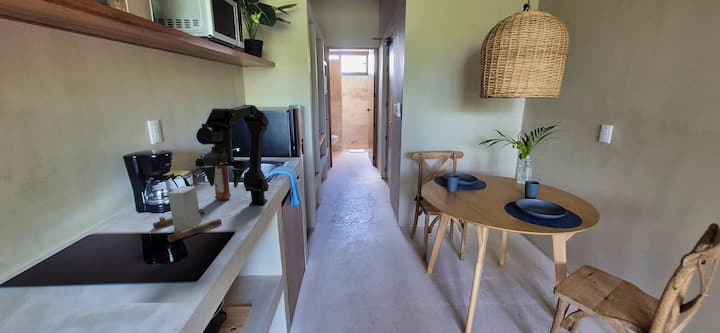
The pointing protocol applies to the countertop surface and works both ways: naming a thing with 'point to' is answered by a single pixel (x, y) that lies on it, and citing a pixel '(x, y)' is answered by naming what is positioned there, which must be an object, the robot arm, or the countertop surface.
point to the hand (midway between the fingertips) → (223, 186)
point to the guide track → (187, 232)
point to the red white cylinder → (221, 183)
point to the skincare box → (184, 208)
